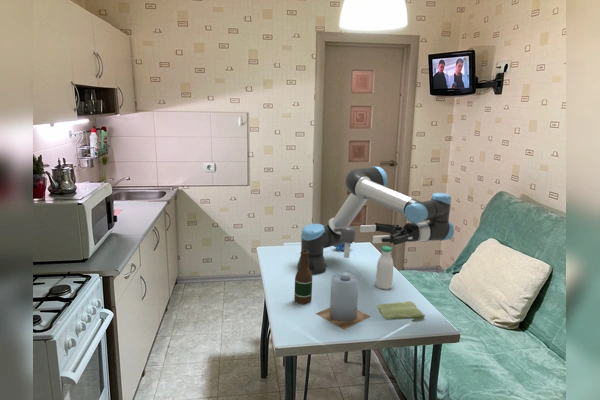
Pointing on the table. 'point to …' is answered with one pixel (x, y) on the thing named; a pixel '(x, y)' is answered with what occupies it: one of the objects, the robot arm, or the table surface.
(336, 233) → the robot arm
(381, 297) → the table surface
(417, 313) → the washcloth
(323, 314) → the walnut board
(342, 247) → the grapes
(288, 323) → the table surface
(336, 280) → the soap dispenser
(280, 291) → the table surface
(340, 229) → the pump plunger
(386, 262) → the milk bottle
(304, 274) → the beer bottle
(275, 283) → the table surface
